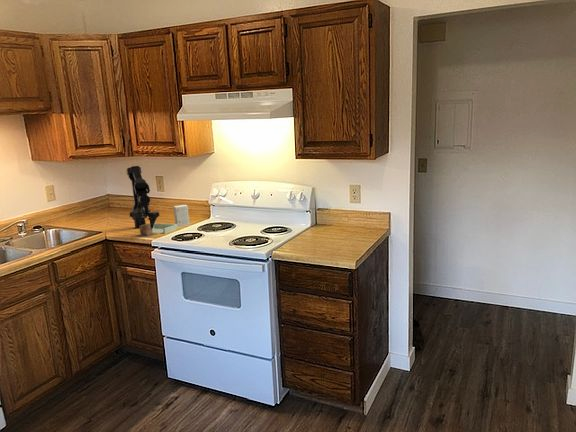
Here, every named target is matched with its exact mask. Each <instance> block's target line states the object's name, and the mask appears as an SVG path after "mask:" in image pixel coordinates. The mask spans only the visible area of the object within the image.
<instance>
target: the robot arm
mask: <svg viewBox="0 0 576 432" xmlns="http://www.w3.org/2000/svg"><path fill="white" fill-rule="evenodd" d="M126 175H127V176H128V179H129V181H131V188H132V195H133V196H132V197H133V206H132V207H131V209H132V211H130V212H129V217H131V218H132V220H133V221H134V227H133V229H136V230H137V229H138V230H140V226H141V225H144V224H147V223H146V222H147V221H146V219H148V221H149V224H150V226H151V229H152V228H153V226H154V223H156V220H157V218H159V217H160V212H159V211H157V210H155V211H154V210H153V211H151V210H150V207H149V206H150V202H151V198H150V196H149V195H148V194H150V192H151V189H150V185H149V184H148V182H147V181H146V179H144V178H143V176H142V168H141V166H139V165H131V166H130V167H128V168H126Z"/></svg>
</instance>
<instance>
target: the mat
mask: <svg viewBox="0 0 576 432" xmlns="http://www.w3.org/2000/svg"><path fill="white" fill-rule="evenodd" d="M158 234H159V233H153V234H151V235H149V236H141V233H139V234H138V235H136V237H141V238H150V237H153V236H155V235H158Z"/></svg>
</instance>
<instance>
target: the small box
mask: <svg viewBox="0 0 576 432" xmlns="http://www.w3.org/2000/svg"><path fill="white" fill-rule="evenodd" d="M173 213H174V221H175V222H174V224H178V228H179V227H185V226H190V224H191V223H190V215H189V207H188V205H187V204H180V205H174V206H173Z"/></svg>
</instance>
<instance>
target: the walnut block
mask: <svg viewBox="0 0 576 432" xmlns="http://www.w3.org/2000/svg"><path fill="white" fill-rule="evenodd" d="M139 232H140V233H139V234H141V236H149V235H151V234H153V231H152V229H151V226H150V223H148V224H147V223H146V224H144V225H141V226H140V229H139Z"/></svg>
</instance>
